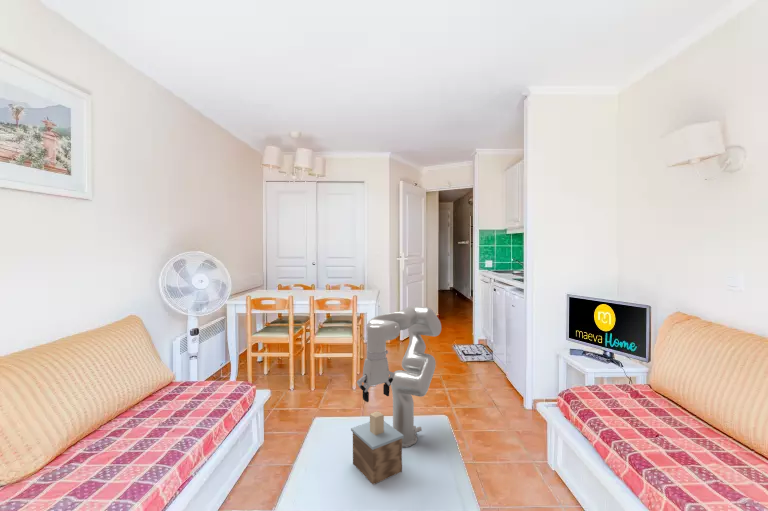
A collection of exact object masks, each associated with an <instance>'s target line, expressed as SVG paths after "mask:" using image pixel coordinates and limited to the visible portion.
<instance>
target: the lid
mask: <svg viewBox="0 0 768 511" xmlns="http://www.w3.org/2000/svg"><path fill="white" fill-rule="evenodd" d="M350 431H351V432H352V434H353V433H354V434H355V435H357V436H358V437H359V438H360V439H361V440H362V441H363V442H364V443H365V444H367V445H368V446H369V447H370V448H371V449H372V450H374V449H376V448H379V447H381V446H384V445H386V444H389V443H392V442H394V441H397V440H399V439H402V438H404V435H403V434H401V433H400V432H398V431H397V430H396V429H394V428H393V425H392V426H391V425H390V424H389V423H388V422H386V421H385V414H383V413H382V412H380V411H374V412H371V413H369V421H368V422H366V423H362V424H360V425H356V426H353V427H351V428H350Z"/></svg>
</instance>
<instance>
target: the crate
mask: <svg viewBox="0 0 768 511" xmlns="http://www.w3.org/2000/svg"><path fill="white" fill-rule="evenodd" d="M352 465H354V466H355V468H356V469H357V470H359V472H360V473H361V474H362V475H363V476H364V477H365V478H366V479H367V480H368V481H369V482H370V483H371V484H372V485H373V486H374V485H375V484H378V483H380V482H383V481H385V480H386V479H389V478H391V477H393V476H396V475H397V474H400V473H402V472H403V447H402V439H399V440H397V441H394V442H392V443H389V444H386V445H384V446H381V447H379V448H376V449H374V450H372V449H371V448H370V447H369V446H368V445H367V444H365V443H364V442H363V441H362V440H361V439H360V438H359V437H358V436H357V435H355V434H354V433H353V432H352Z"/></svg>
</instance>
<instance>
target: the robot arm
mask: <svg viewBox="0 0 768 511" xmlns="http://www.w3.org/2000/svg"><path fill="white" fill-rule="evenodd" d="M405 330H407V331H408V338H409V339H408V340H409V343H408V345H407V349H406V351H405V353H404V356H403V357H402V360H401V367H402V369H403V370H402V369H400V370H399V369H398V370H395V371H394V372H393V371H390V368H389V361H388V358H387V354H388V353H389V351H388V350H387V341H390V340H394V339H397V338H398V337H399V336H400V334H401V331H405ZM441 332H442V323H441V320H440V319H439V317H438V316H437V315H436V313H435V311H434V310H433V309H432V308H431V307H427V306H418V305H411V306H407V307H406V308H404V309H401V310H400V311H395V312H390V313H383V314H380V315H376V316H374V317H373V318H371V319H369V321H368V322H367V325H366V358H365V359H364V362H363V369H362V376H361V377H360V378H358V380H356V384H357V386H358V388H359V389H361V391H362V400H363V401H365V403H369V401H370V395H369V394H370V393H369V390H370V388H371V387H373V386H377V385H381V384H383V387H382V388H383V394H382V395H384V396H386V397H390V388H391V391H392V392H391V393H392V427H393V428H394V429H396V430H397V431H398V432H400V433H401V434H403V435H404V438H402V448H409V447H411V446H414V445H415V444H416V443H417V441H418V436H417V435H416V434H417V433H419V432H422V430H423V428H422V427H421V426H416V425H415V424H414V418H415V417H414V416H415V414H414V410H415V409H414V404H415V402H414V399H413V396H414V397H420V398H421V397H425V396H426V395H427V392H428V391H429V388H430V385H431V383H432V380H433V377H434V374H435V369H436V359H435V357H434V356H433V355H432V354H430V353H425V352H426V349H427V345H426V343H425V340H424V339H423V337H422V336H428V337H437V336H439V335H440V334H441Z"/></svg>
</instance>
